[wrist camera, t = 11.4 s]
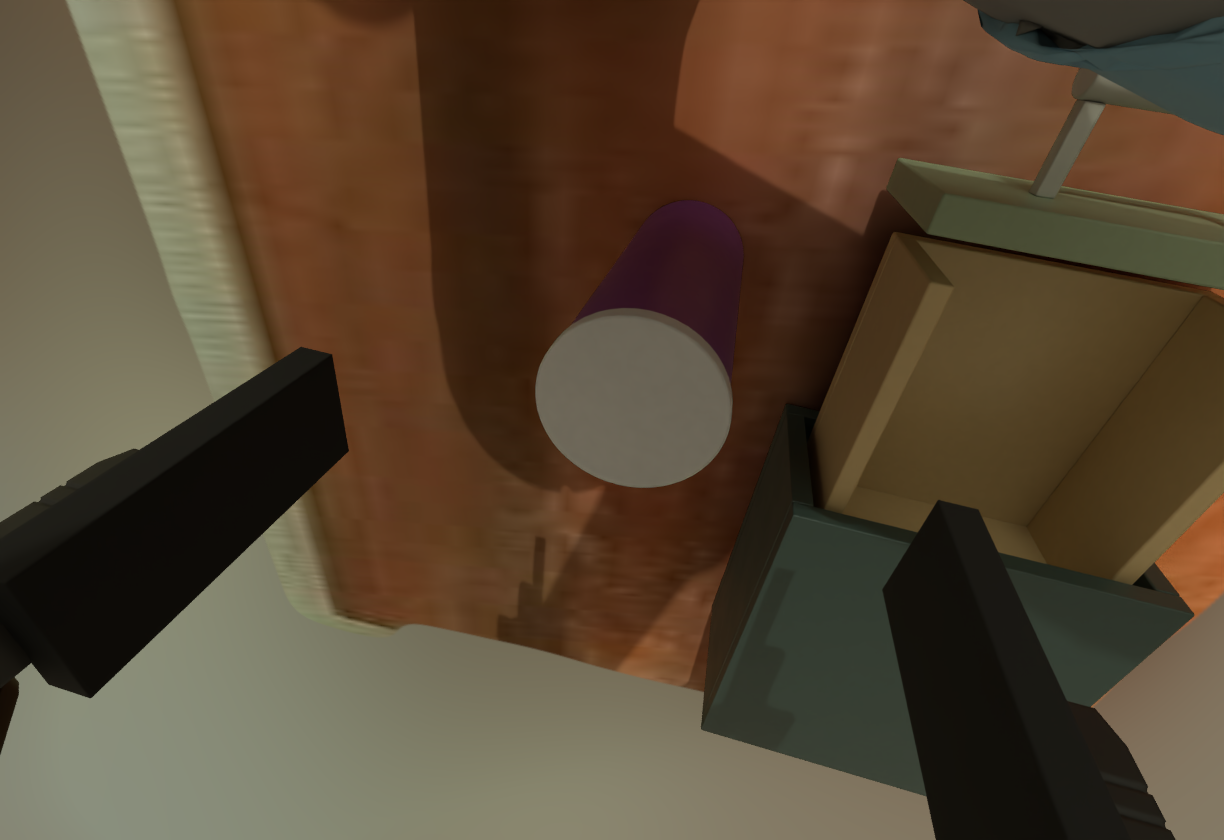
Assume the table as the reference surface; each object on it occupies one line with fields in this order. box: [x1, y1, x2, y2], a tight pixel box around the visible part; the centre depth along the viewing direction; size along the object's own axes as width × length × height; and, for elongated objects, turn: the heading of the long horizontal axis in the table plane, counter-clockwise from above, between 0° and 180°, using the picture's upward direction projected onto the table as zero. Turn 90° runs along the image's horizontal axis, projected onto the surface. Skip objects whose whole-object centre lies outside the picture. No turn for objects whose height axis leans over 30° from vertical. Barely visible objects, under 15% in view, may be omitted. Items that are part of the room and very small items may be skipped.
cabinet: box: [701, 404, 1194, 796], centre depth 30 cm, size 17×15×9 cm
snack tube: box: [535, 200, 744, 488], centre depth 21 cm, size 5×5×14 cm
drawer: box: [807, 68, 1224, 585], centre depth 22 cm, size 20×14×7 cm
